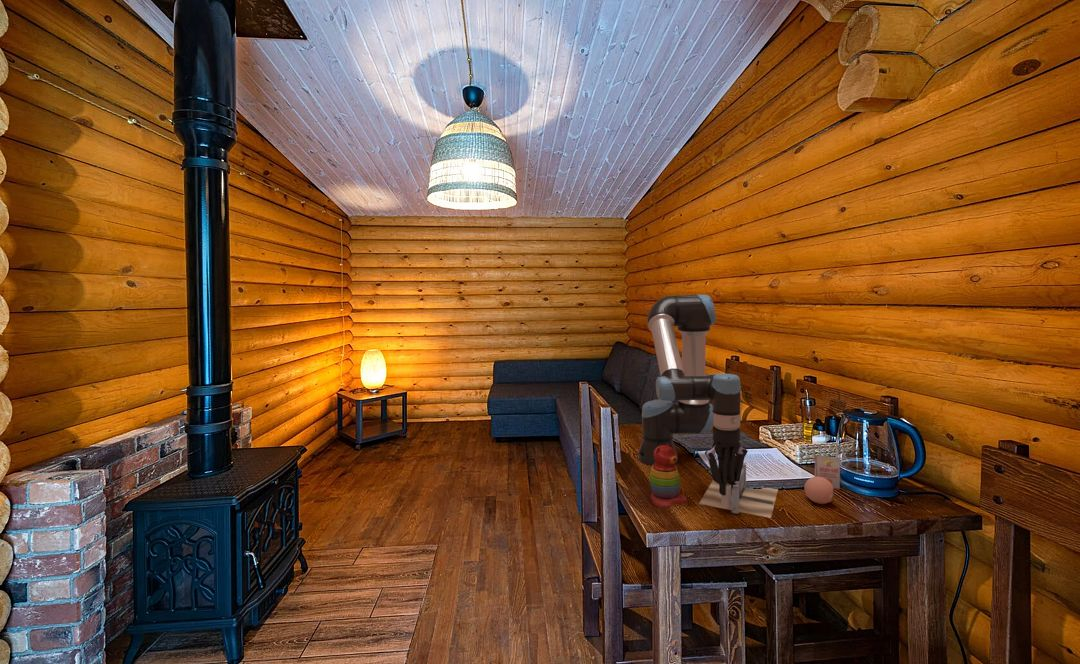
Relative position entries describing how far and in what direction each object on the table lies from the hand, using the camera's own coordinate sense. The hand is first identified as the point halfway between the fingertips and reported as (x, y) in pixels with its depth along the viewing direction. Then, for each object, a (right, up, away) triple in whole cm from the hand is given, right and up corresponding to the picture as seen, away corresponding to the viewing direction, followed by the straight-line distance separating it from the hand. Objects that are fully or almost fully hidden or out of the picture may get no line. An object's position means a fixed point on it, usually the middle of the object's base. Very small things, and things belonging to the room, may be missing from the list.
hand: (726, 504), depth 138 cm
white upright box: (+40, 0, +16) cm, 43 cm away
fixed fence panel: (+10, 0, +14) cm, 17 cm away
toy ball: (+30, -1, +4) cm, 30 cm away
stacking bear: (-15, -2, +9) cm, 18 cm away
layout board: (+7, -1, +9) cm, 12 cm away
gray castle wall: (+4, -1, +2) cm, 5 cm away
